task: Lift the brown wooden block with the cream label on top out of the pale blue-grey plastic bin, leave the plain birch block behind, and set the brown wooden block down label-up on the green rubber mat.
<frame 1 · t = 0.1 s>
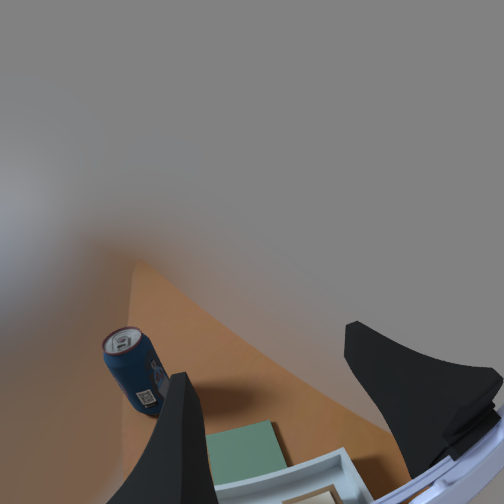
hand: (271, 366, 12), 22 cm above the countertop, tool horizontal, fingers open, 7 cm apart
mat: (245, 455, 27), on the countertop
soda can: (156, 402, 37), on the countertop
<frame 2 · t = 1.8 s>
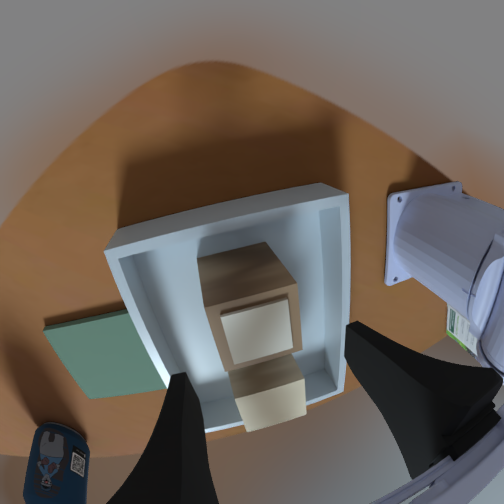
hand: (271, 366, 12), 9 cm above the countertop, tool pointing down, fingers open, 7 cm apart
brown wooden block: (237, 280, 19), point 1 cm above the countertop, touching bin
mat: (107, 357, 20), on the countertop
soda can: (63, 434, 23), on the countertop
syrup box: (459, 304, 29), on the countertop
bin: (244, 316, 21), on the countertop
birch block: (254, 355, 22), point 1 cm above the countertop, touching bin
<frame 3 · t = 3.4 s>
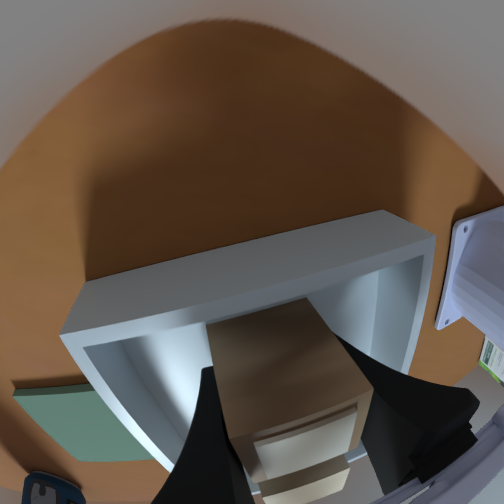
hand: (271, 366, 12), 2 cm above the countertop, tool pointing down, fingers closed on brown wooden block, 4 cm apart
brown wooden block: (264, 348, 13), point 1 cm above the countertop, touching bin, gripper
mat: (94, 426, 14), on the countertop
soda can: (56, 481, 17), on the countertop
syrup box: (494, 332, 23), on the countertop
bin: (269, 384, 15), on the countertop
birch block: (278, 422, 16), point 1 cm above the countertop, touching bin
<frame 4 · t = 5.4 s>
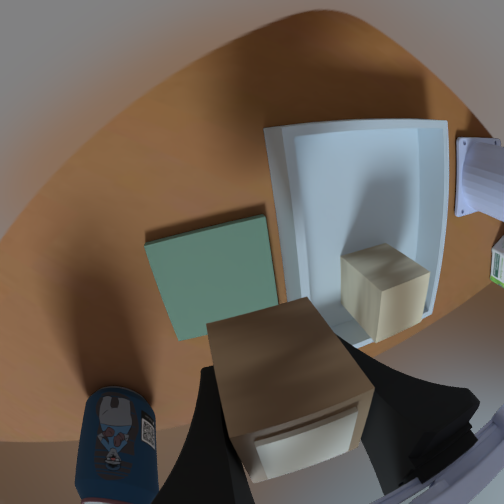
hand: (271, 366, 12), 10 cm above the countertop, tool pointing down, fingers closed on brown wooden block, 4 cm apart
brown wooden block: (264, 347, 13), point 8 cm above the countertop, touching gripper
mat: (216, 280, 20), on the countertop
soda can: (121, 402, 23), on the countertop
syrup box: (499, 252, 29), on the countertop
bin: (360, 231, 22), on the countertop
birch block: (363, 273, 23), point 1 cm above the countertop, touching bin
when the fingers open (3 cm above the countertop, at t = 7.7 s): brown wooden block drops 1 cm, resting on mat.
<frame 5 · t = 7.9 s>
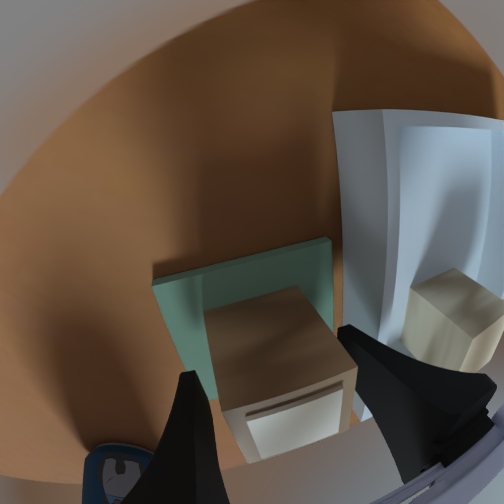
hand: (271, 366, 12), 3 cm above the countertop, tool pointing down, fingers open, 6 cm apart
brown wooden block: (258, 334, 14), point 1 cm above the countertop, touching mat
mat: (255, 328, 14), on the countertop
soda can: (126, 456, 17), on the countertop
bin: (430, 254, 16), on the countertop
birch block: (428, 304, 16), point 1 cm above the countertop, touching bin
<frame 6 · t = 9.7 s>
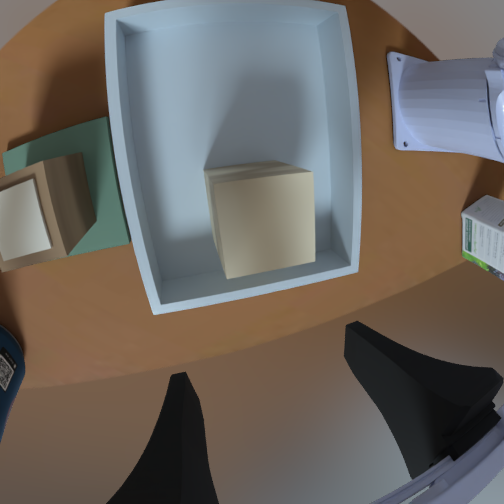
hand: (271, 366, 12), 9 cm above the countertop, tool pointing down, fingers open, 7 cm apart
brown wooden block: (58, 195, 15), point 1 cm above the countertop, touching mat
mat: (62, 194, 15), on the countertop
soda can: (0, 343, 18), on the countertop
syrup box: (473, 223, 25), on the countertop
bin: (235, 142, 17), on the countertop
birch block: (243, 199, 18), point 1 cm above the countertop, touching bin
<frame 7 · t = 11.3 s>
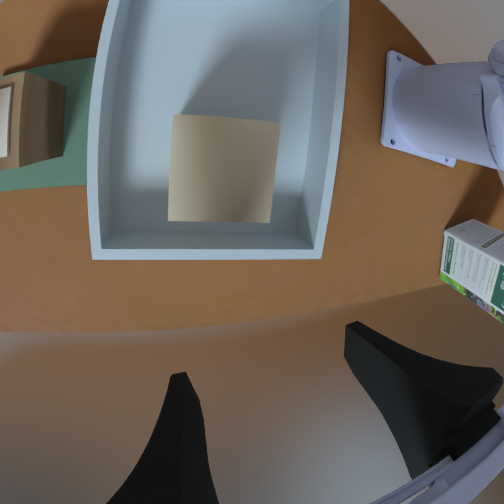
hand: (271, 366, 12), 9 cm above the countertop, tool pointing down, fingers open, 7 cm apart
brown wooden block: (34, 125, 13), point 1 cm above the countertop, touching mat
mat: (38, 125, 13), on the countertop
syrup box: (455, 246, 26), on the countertop
bin: (214, 103, 16), on the countertop
birch block: (210, 159, 16), point 1 cm above the countertop, touching bin
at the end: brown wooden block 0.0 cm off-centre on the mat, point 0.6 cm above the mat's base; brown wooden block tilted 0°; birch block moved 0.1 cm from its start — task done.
